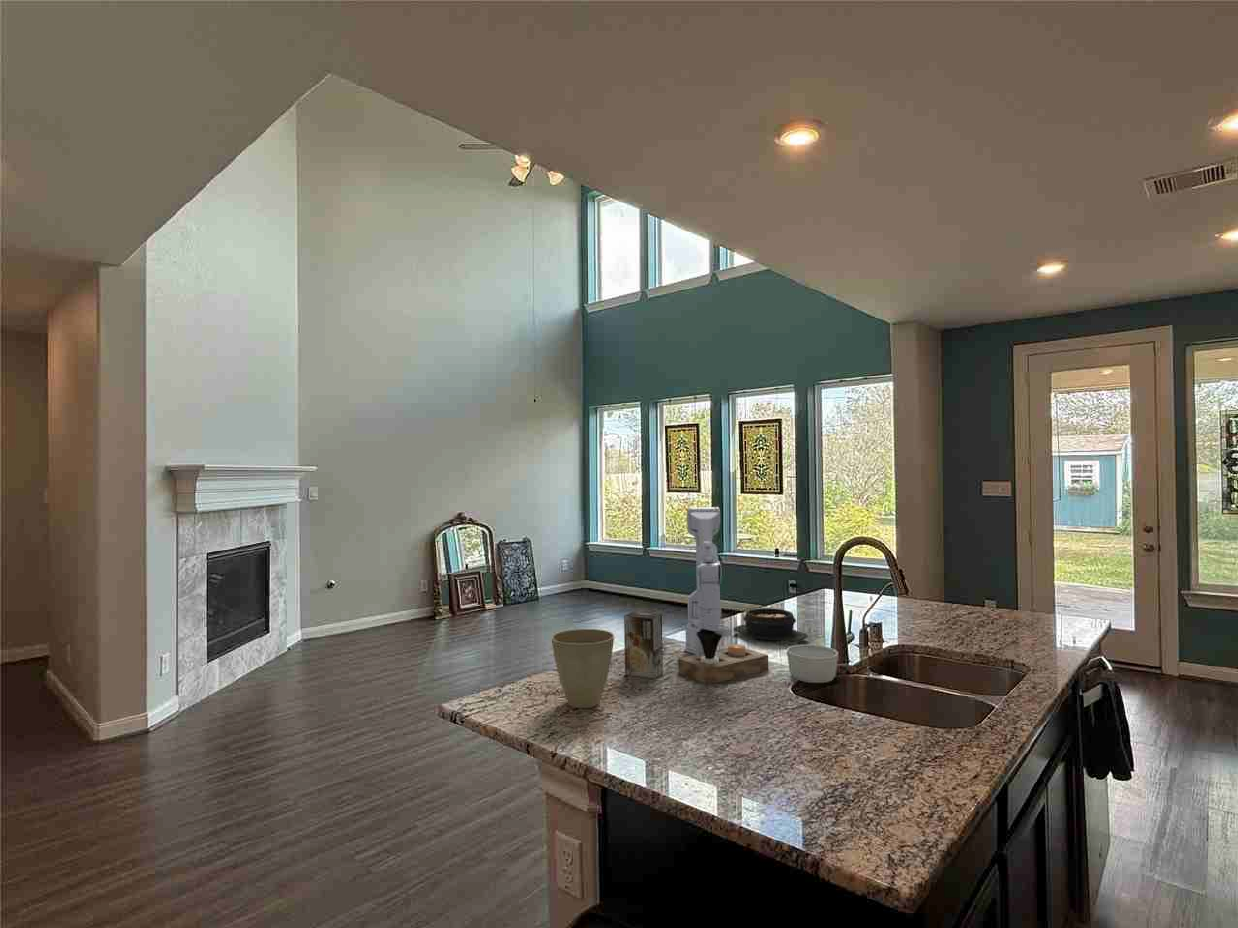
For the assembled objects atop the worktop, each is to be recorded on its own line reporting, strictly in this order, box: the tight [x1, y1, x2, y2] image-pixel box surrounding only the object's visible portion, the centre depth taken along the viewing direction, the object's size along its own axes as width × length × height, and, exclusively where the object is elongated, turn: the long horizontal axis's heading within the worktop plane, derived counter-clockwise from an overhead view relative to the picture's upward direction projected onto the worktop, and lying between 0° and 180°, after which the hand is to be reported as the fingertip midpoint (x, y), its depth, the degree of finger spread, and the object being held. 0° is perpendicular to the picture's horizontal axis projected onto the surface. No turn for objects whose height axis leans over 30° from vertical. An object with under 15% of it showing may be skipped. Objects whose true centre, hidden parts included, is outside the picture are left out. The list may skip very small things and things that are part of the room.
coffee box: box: [623, 610, 664, 680], centre depth 177 cm, size 9×6×16 cm
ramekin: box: [786, 644, 839, 684], centre depth 173 cm, size 13×13×7 cm
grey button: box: [701, 656, 719, 664], centre depth 176 cm, size 5×5×4 cm
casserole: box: [732, 607, 808, 643], centre depth 214 cm, size 25×19×8 cm
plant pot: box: [550, 628, 615, 709], centre depth 155 cm, size 15×15×16 cm
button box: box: [677, 647, 769, 685], centre depth 178 cm, size 12×22×4 cm, turn 124°
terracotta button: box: [727, 643, 747, 658], centre depth 181 cm, size 5×5×4 cm
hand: (709, 658), depth 176 cm, fingers closed, pressing on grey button
